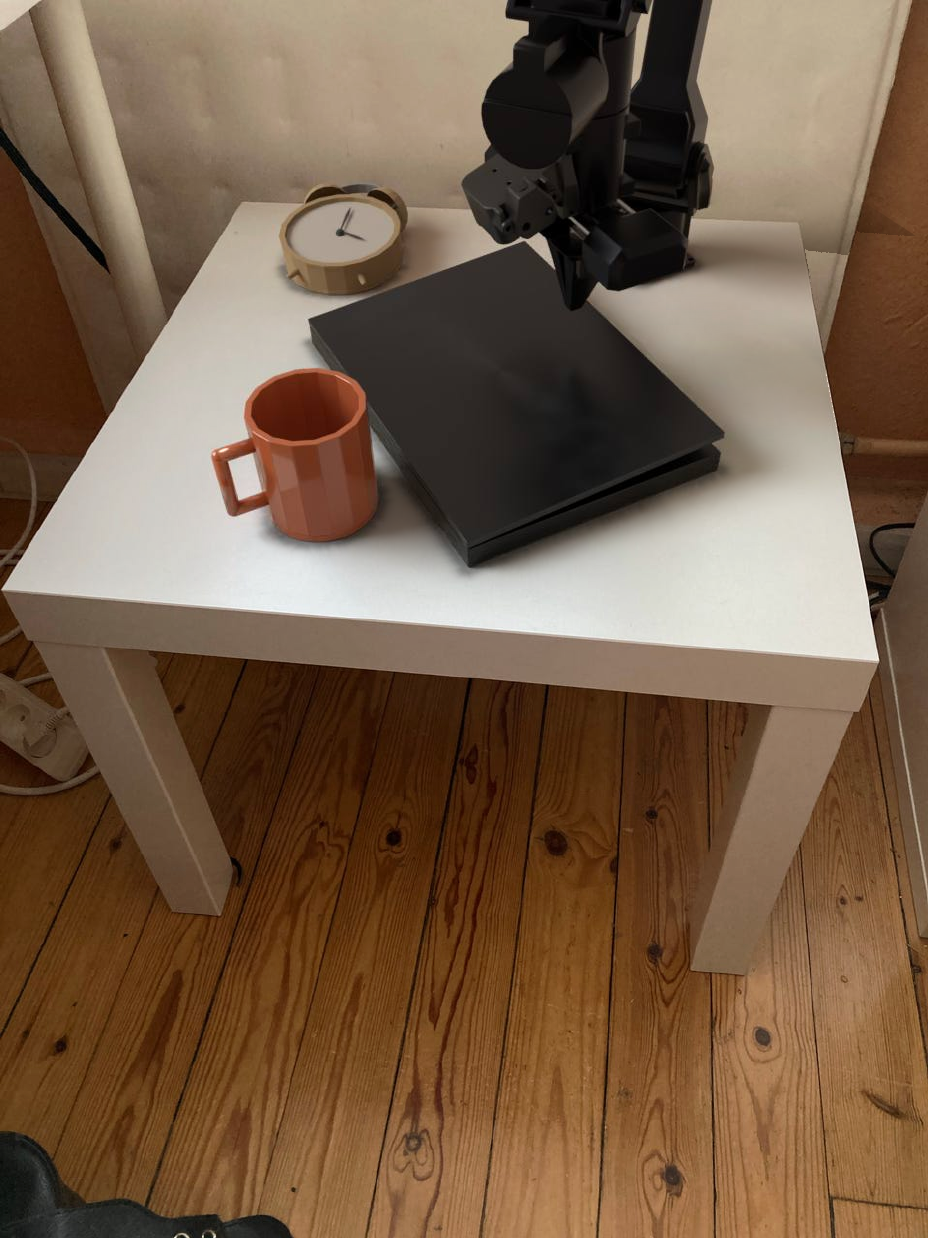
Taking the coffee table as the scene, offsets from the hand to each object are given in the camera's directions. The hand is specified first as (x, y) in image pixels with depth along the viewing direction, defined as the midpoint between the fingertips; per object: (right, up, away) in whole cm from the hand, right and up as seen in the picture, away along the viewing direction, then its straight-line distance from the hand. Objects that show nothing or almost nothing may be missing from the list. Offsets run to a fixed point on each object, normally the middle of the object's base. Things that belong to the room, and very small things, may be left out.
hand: (573, 307), depth 79 cm
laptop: (-6, -7, +4) cm, 9 cm away
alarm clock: (-19, +11, +19) cm, 29 cm away
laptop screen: (-6, -5, +2) cm, 8 cm away
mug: (-20, -16, -4) cm, 26 cm away
